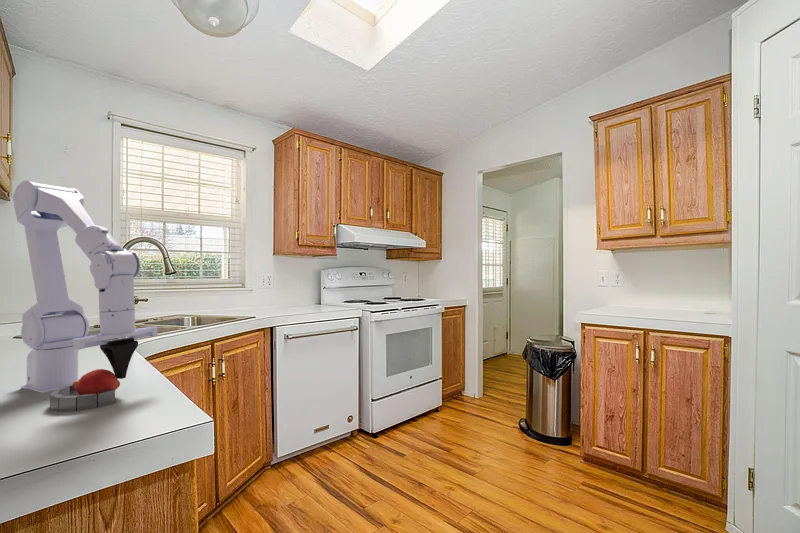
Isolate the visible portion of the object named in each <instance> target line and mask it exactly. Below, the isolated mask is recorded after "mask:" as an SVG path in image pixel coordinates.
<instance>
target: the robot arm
mask: <svg viewBox="0 0 800 533" xmlns="http://www.w3.org/2000/svg"><path fill="white" fill-rule="evenodd" d="M12 201H13V205H14V211H15V213H14V214H15V216H16V221H17V223H18V224H21V225H22V226H23V228H24V232H25V237H26V245H27V249H28V250H27V251H28V255H29V262H30V267H31V268H30V269H31V272H32V279H33V286H34V292H35V296H36V302H37V303H35V304H34V305H32V306H31V307H30V308H29V309H27V310H25V312H24V313H23V314H22V315H21V316H22V317H21V319H22V320H21V321H22V325H21V326H22V327H21V330H20V332H21V333H20V335H21V339H22V341H23V343H24V344H25V345H26V346H27V347H29V349H31V350H30V351H29V352H28V354H27V357H26V384H22V385H20V388H21V389H25V390H26V389H28V390H32V391H33V392H34V391H35V392H37V393H42V394H43V393H48V392H52V391H53V390H56V389H58V388H61V387H63V386H66V385H70V384H72V382H75V381H78V380H79V379H80V378H79V350H85V349H87V348H93V347H98V346H99V348H100V350H101V352H102V353H103V354H104V355H105V357H106V358H107V360H108V361H109V364H110V366H111V368H112V370H113V374H114V375H115V376H116V377H117V379H118V380H119V379H120V380H122V379H123V380H124V379H126V378H127V372H128V369H129V365H130V363H131V362H130V361H131V360H132V357H133V354H134V353H135V351H136V350H137V348H138V346H139V341H138V340H137V339H143V338H149V337H156V336H158V335H159V334H158V326H146V327H140V328H139V327H137V328H136V310H135V307H136V305H135V303H136V302H135V284H134V278H136V277H137V276H138V275H139V273H140V269H141V261H140V258H139V256H138V255H137V252H135V251H133V250H128V249H126V248H123V247H121V245H120V244H119V243H118V242H117V240H116V239H115V238H114V236H112V234H111V233H110V232H109V229H108V228H107V227H103V226H100V225H96V224H95V223H94V221H93V220H92V218H91V217H90V215H89V214H88V212H87V211H86V210H85V208H84V204H85V202H84V201H85V200H84V196H83V195H82V194H81V192H80V191H79V190H78V189H76V188H72V187H64V186H63V187H62V186H56V185H51V184H44V183H39V182H33V181H31V180H23V181H21V182H20V183H18V184H17V186H16V187H15V190H14V193H13V195H12ZM65 227H70V229H72V231H73V232H75V234H76V235H75V239H74V240H75V243H76V245H77V246H78V247H79V248H80V250H81V251H82V252H83V253H84V254H85V256H86V257H87V258H88V259H89V261H90V265H89V271H90V273H91V276H92V277H93V280H94V286H95V289H98V290H97V291H98V311H99V333H96V334H92V335H88V334H89V331H90V322H89V319H88V318H87V316H86V314H85V311H84V308H83V306H82V305H81V304H80V303H77V302H75V301H73V300H72V299H70V298H69V294H68V287H67V281H66V276H65V271H64V264H63V259H62V253H61V248H60V242H59V237H58V231H59V229H62V228H65Z"/></svg>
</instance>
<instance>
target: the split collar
mask: <svg viewBox="0 0 800 533" xmlns="http://www.w3.org/2000/svg"><path fill="white" fill-rule="evenodd" d="M113 404H116V390H115V389H109V390H106V391H102V392H98V393H92V394H86V395H79V394H78V392H77V391H76V389H75V388H74V387H73V386H72V384H70V385H66V386H63V387H61V388H58V389H56V390H53V391H51V393H50V395H49V410H51V411H54V412H58V413H62V412H80V411H85V410H86V411H87V410H93V409H97V408H98V409H99V408H102V406H103V407H105V406H110V405H113Z"/></svg>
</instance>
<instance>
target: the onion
mask: <svg viewBox="0 0 800 533" xmlns="http://www.w3.org/2000/svg"><path fill="white" fill-rule="evenodd" d="M78 379H79V380H78V381H75V382H72V386H73V387H74V388H75V389H76V391H77V392H78V394H79V395H86V394H92V393H98V392H102V391H106V390H109V389H115V391H116V390H118V388H119V387H120V386H121V382H120V381H119V379H118V378H117V377H116V376H115V374H114V372H112V371H110V370H108V369H104V368H99V369H93V370H91V371H89V372H87V373H85V374H83V375H82V376H81V377H80V378H78Z"/></svg>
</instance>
